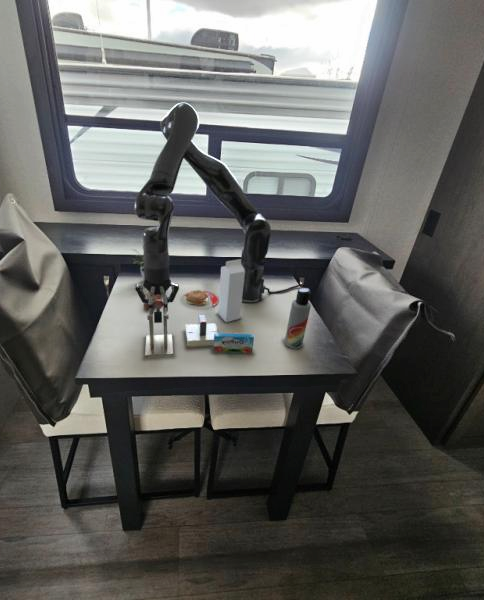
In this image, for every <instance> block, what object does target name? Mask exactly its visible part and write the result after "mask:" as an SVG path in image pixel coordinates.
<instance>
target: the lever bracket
mask: <svg viewBox="0 0 484 600" xmlns="http://www.w3.org/2000/svg"><path fill="white" fill-rule="evenodd" d="M146 317H147V321H148V327H149V335H145V349H144V352H145V353H144V356H145V357H158V356H173V355H174V348H173V345H174V344H173V334H171V333H169V334H168V320H169V317H170V316H169V314H168V311H167V308H163V307H162V323H163V334H155V329H154V314H153V308H149V310H148V314H147V316H146Z"/></svg>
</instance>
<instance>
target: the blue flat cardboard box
mask: <svg viewBox="0 0 484 600" xmlns="http://www.w3.org/2000/svg"><path fill="white" fill-rule="evenodd" d="M254 341H255V336H254V334H252V333H215V334H214V343H213V345H212V351H219V352H220V351H221V352H222V351H223V352H224V351H225V352H226V354H252V353H253V349H254Z"/></svg>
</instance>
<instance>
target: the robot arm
mask: <svg viewBox="0 0 484 600" xmlns="http://www.w3.org/2000/svg"><path fill="white" fill-rule="evenodd" d="M199 118H200V117H199V115H198V113H197V111H196V110H195V108H194V107H193V106H192V105H190V104H189V103H187V102H183V101H182V102H179V103H177V104H175V105H174V106H173V107H172V108H171V109H170V110H168V112H167V113H166V114H165V115H164V117H163V118H162V119H161V120H160V124H159V127H160V130H161V133H162V135H163V136H164V138H165V139H166V143H165V144H164V146H163V148H162V149H161V151H160V153H159V154H158V156H157V158H156V160H155V163H154V165H153V168H152V170H151V174H150V177H149V179H148V180H147V181H146V182H145V184H144V185H143V186H142V188H141V189H140V190H139V192H138V193H137V195H136V197H135V199H134V202H133V210H134V214H135V215H136V216H137V218H139V219H140V220H145V221H153V222H158V225H157V226H152V227H147V228H145V229H144V230H143V232H142V244H143V246H144V250H143V254H142V257H143V261H142V262H143V264H142V265H144V281H143V280H142V283H136V284H135V287H134V289H135V292H136V293H137V295H138V297H139V299H140V301H141V302H142V304H144V303H148V305H149V308H153V297H154V295H157V294H159V295H162V296H161V298H162V299H161V300H162V302H163V307H162V309H163V308H167V312H168V311H169V305H168V304H170V303H174V301H175V298H176V297H177V294H178V292H179V290H180V285H179V283H178V282H176V283H174V282H172V280H171V279H170V278H171V277H170V262H171V261H170V253H169V233H170V227H171V222H172V219H173V215H174V213H175V203H174V201H173V199H172V197H171V196H169V195H171V194H172V193H173V192H174V189H175V186H176V183H177V179H178V175H179V173H180V170H181V166H182V164H183V161H184V160H185V162H187V163H188V165H189V166H190V167H191V168H192V169H193V170H194V172H195V173H196V174H197V176H198V177H199V178H200V179H201V180H202V182H203V184H205V186H206V187H207V188H208V190H209V191H210V192H211V194H212V195H213V196H214V197H215V198H216V199H217V201H219V202H220V203H221V204H222V205H223V206H224V207H225V208H226V209H227V210H228V211H229V212H230V213H231V214H232V215H233V216H234V218H235V220H236V221H237V222H238V224H239V226H240V228H241V229H242V231H243V233H244V242H243V249H242V250H241V253H240V254H241V255H240V259H241V265H242V267H243V268H244V270H245V276H244V285H243V294H242V302H244V303H249V304H251V303H252V304H253V303H257V302H259V301H262V298H263V294H265V291H267V293H268V294H270V295H271V294H280V293H284V292H287V291H290V290H293V289H296V288H299V287H302V288H307V285H305V284H304V283H299V284H297V285H293V286H290V287H288V288H284V289H281V290H276V291H270V288H268V287H266V286H265V284H264V283H265V279H264V271H265V270H264V269H265V263H266V257H267V254H268V251H269V247H270V241H271V233H272V228H271V225H270V223H269V222H268V220H267V219H266V218H265V216H263V215H262V214H261V213H260V212H259V211H258V210H257V209H256V208H255V207H254V205H253V204H251V202H250V201H249V199H248V198H247V196H246V194H245V192H244V190H243V189H242V187H241V185H240V183H239V182H238V180H237V178H236V176H235V175H234V173H232V172H231V170H230V168H229V167H228V166H227V165H226V164H225V163H224V162H223V161H221V160H219V159H217V158H215V157H214V156H211V155H210V154H207V153H205V152H204V151H202V150H201V149H200V148H199V147H198V146H197V145H196V144H195V143H194V141H193V138H194V137H195V136H196V133H197V131H198V129H199V126H200V119H199ZM143 246H142V247H143ZM144 288H145V290H146V291H147V293H148V292H149V298H147V295H146V294H145V292H144ZM170 288H171V292H170V294H169V296H167V295H168V294H167V291H168V290H169V289H170ZM154 310H155V308H154V309H153V315H154V312H155V311H154Z"/></svg>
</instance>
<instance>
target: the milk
mask: <svg viewBox="0 0 484 600" xmlns="http://www.w3.org/2000/svg"><path fill="white" fill-rule="evenodd" d="M244 276H245V270H244V268H243V267H242V265H241V258H239V259H234V260H227V261H225V265H223V266H221V267H220V276H219V277H220V279H219V293H218V308H217V315H218V316H219V317H220V318H221V319H222V320H223V321H224V322H225V323H229V322H232V321H237V320H240V319H241V314H242V313H241V312H242V302H243V301H242V294H243V285H244Z"/></svg>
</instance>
